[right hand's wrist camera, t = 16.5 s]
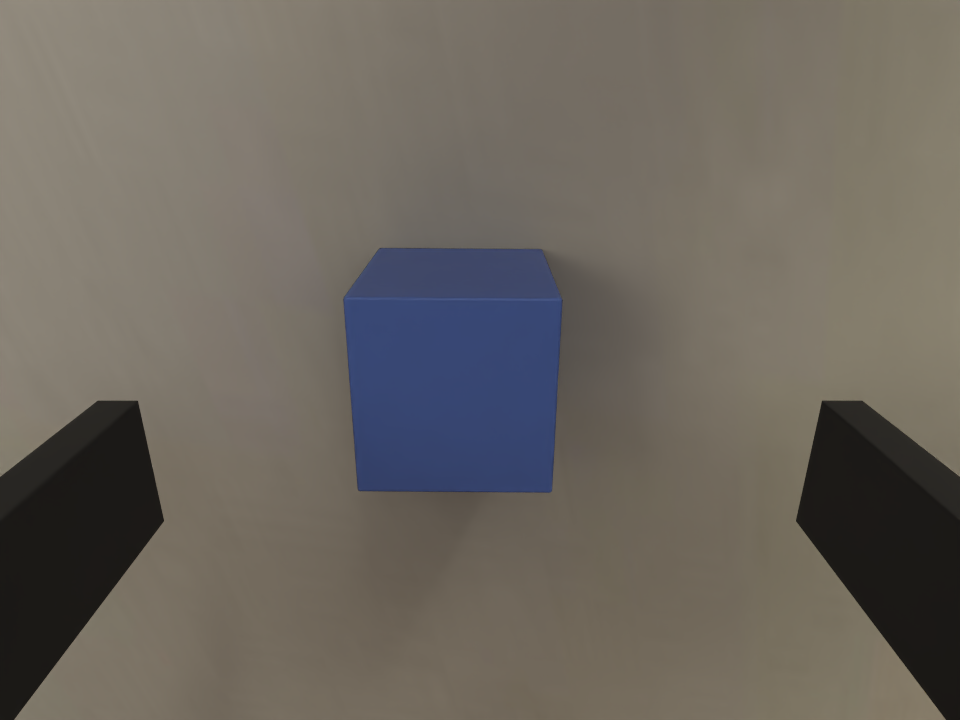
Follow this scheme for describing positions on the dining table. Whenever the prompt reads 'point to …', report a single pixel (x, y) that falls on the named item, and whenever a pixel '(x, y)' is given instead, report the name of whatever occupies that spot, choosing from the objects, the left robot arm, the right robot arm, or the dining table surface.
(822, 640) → the dining table surface
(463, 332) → the brick
